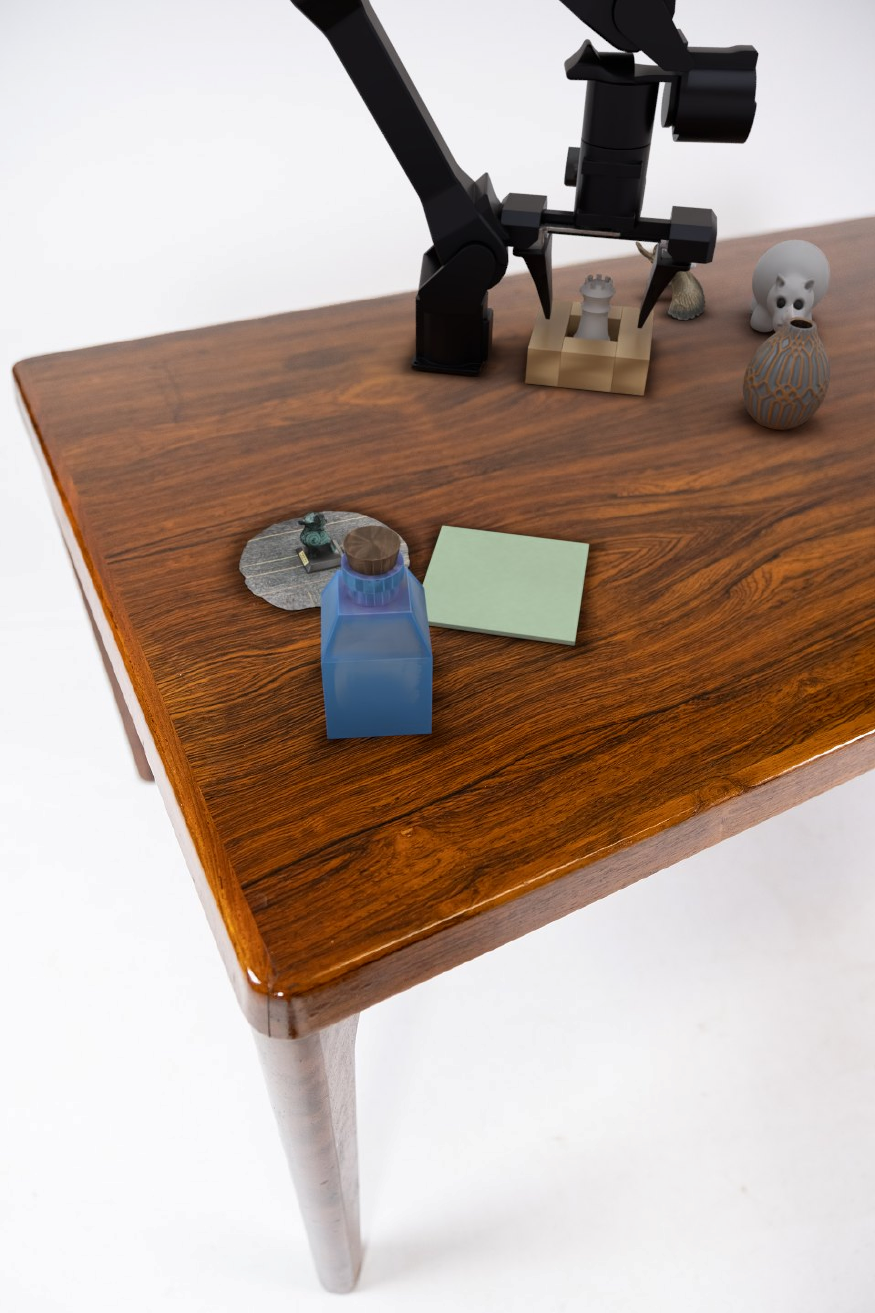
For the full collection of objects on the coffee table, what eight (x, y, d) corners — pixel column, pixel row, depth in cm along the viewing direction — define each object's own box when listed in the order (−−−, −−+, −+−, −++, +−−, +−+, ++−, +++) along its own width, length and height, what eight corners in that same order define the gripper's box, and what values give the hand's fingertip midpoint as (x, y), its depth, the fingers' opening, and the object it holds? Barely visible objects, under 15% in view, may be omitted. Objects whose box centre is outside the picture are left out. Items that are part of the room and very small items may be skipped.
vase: (819, 443, 86) (849, 345, 80) (736, 433, 87) (759, 336, 81) (813, 403, 91) (841, 309, 85) (735, 395, 92) (757, 301, 86)
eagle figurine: (612, 276, 109) (640, 294, 101) (653, 214, 106) (684, 228, 98) (666, 312, 112) (696, 333, 104) (706, 253, 109) (740, 270, 101)
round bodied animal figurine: (736, 358, 97) (756, 270, 92) (744, 307, 106) (763, 224, 100) (813, 369, 96) (838, 280, 90) (815, 317, 104) (839, 233, 99)
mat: (411, 623, 68) (411, 618, 68) (442, 529, 76) (442, 525, 76) (574, 646, 67) (575, 641, 66) (588, 548, 75) (589, 543, 74)
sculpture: (206, 573, 72) (245, 467, 72) (284, 592, 80) (320, 497, 79) (332, 633, 67) (375, 519, 66) (402, 646, 75) (442, 545, 74)
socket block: (525, 383, 93) (527, 347, 91) (539, 332, 101) (542, 298, 98) (643, 395, 92) (649, 359, 89) (648, 343, 99) (654, 308, 97)
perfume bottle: (327, 667, 65) (314, 511, 57) (423, 663, 65) (424, 507, 57) (327, 738, 60) (313, 580, 52) (431, 733, 61) (433, 575, 53)
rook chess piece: (616, 356, 97) (628, 273, 92) (607, 377, 94) (618, 292, 89) (571, 348, 98) (580, 266, 93) (560, 369, 95) (568, 285, 90)
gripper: (730, 119, 87) (696, 296, 98) (516, 104, 90) (506, 278, 101) (732, 159, 79) (695, 347, 90) (497, 142, 82) (488, 326, 93)
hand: (593, 322), depth 93 cm, fingers open, 8 cm apart
